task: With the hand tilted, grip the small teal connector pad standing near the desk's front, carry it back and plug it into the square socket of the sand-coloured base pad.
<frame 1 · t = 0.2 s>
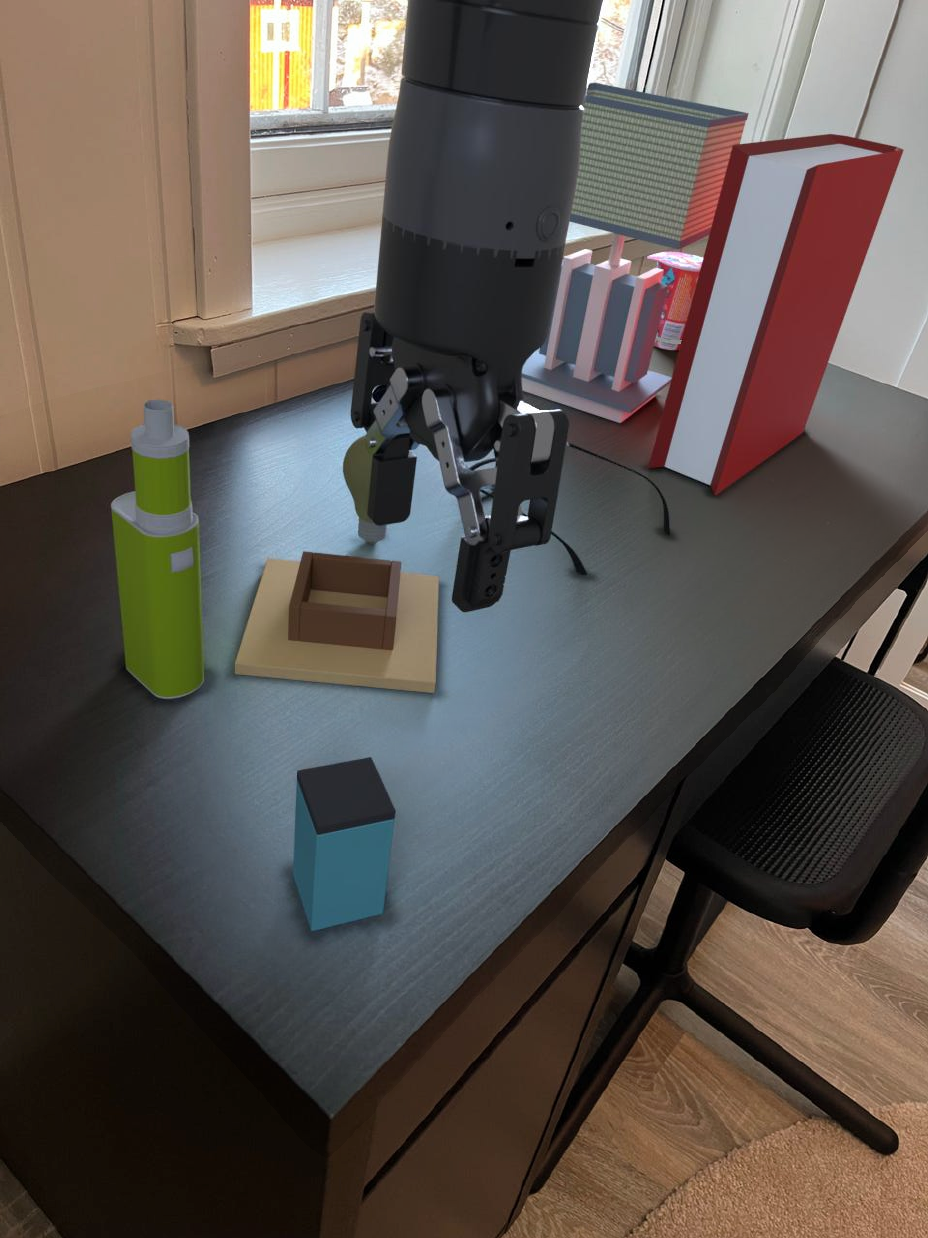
hand: (428, 561, 48), 18 cm above the table, tool pointing down, fingers open, 8 cm apart
pad plug: (337, 893, 53), on the table
book: (732, 449, 111), on the table
desk lamp: (586, 393, 120), on the table
base pad: (344, 626, 73), on the table
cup: (662, 345, 140), on the table
vape: (165, 675, 66), on the table
light bulb: (370, 543, 84), on the table
eyeglasses: (564, 521, 92), on the table
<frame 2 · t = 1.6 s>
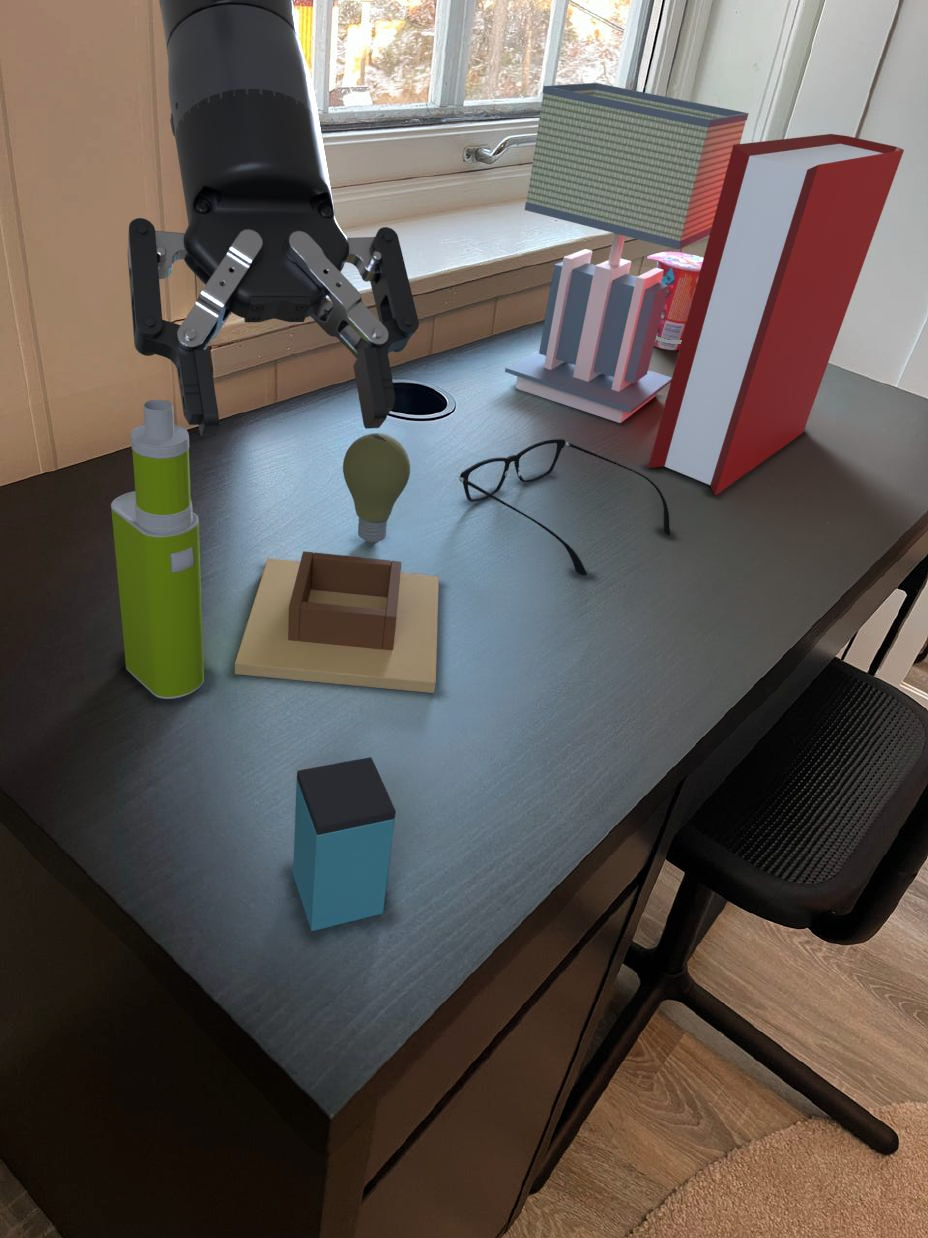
hand: (296, 427, 48), 22 cm above the table, tool tilted 45°, fingers open, 8 cm apart
nothing on the table moved.
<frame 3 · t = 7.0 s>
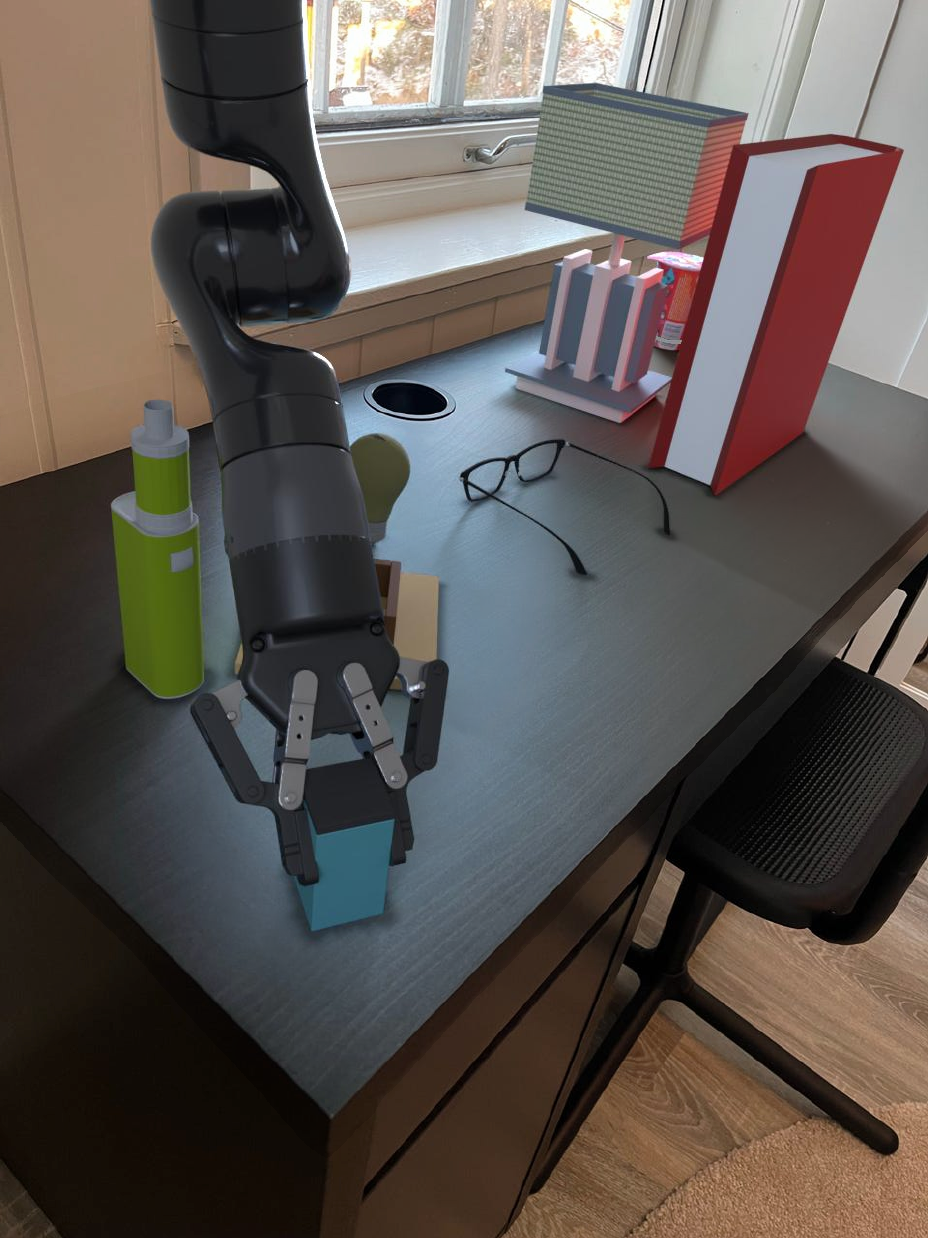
hand: (352, 871, 49), 4 cm above the table, tool tilted 45°, fingers closed on pad plug, 4 cm apart
pad plug: (337, 893, 53), on the table, touching gripper
everything else where it was.
when the fingers open (5 cm above the table, at t = 16.3 s): pad plug stays where it is, resting on base pad.
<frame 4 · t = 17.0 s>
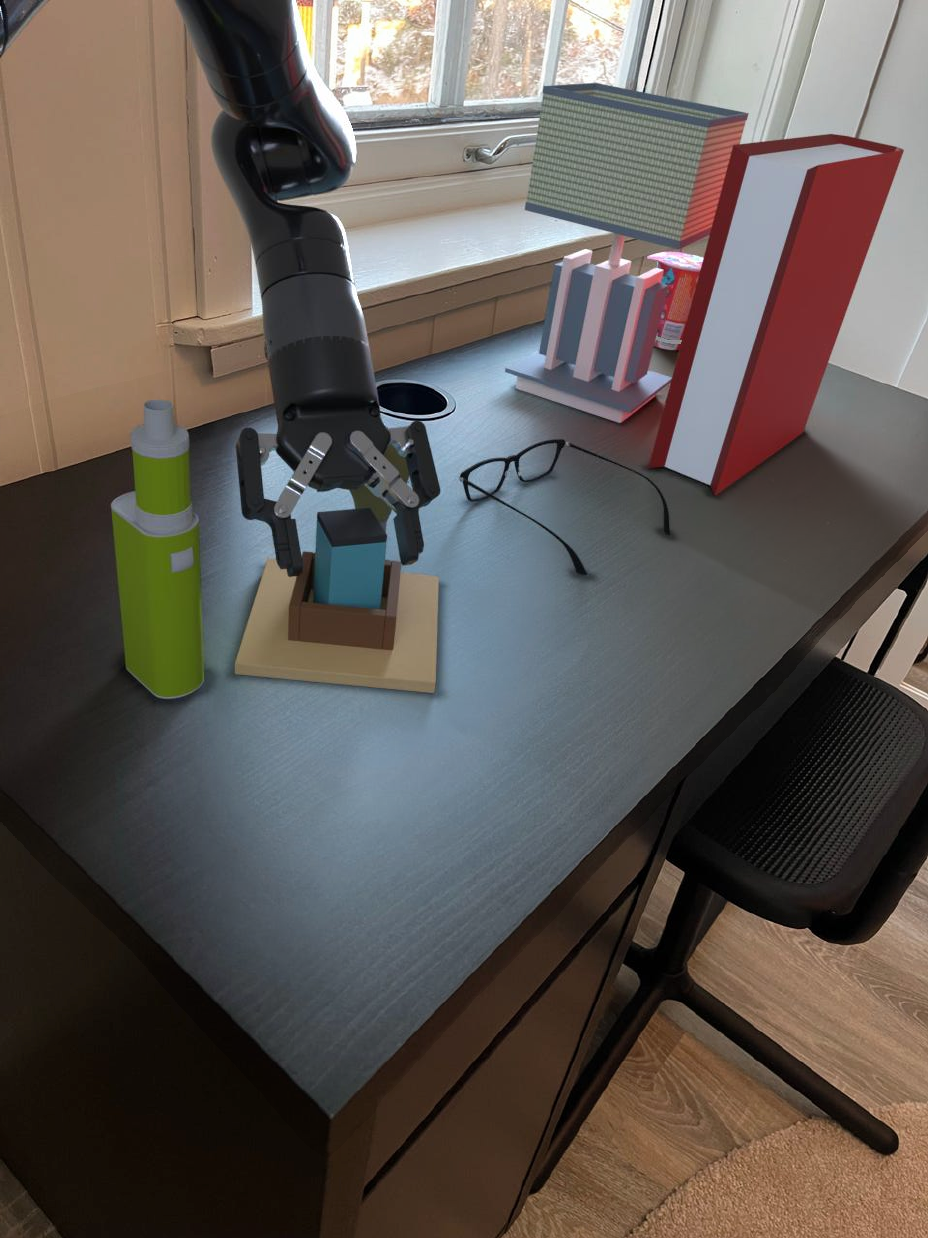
hand: (354, 568, 68), 6 cm above the table, tool tilted 45°, fingers open, 8 cm apart
pad plug: (345, 615, 72), point 1 cm above the table, touching base pad
everything else where it was.
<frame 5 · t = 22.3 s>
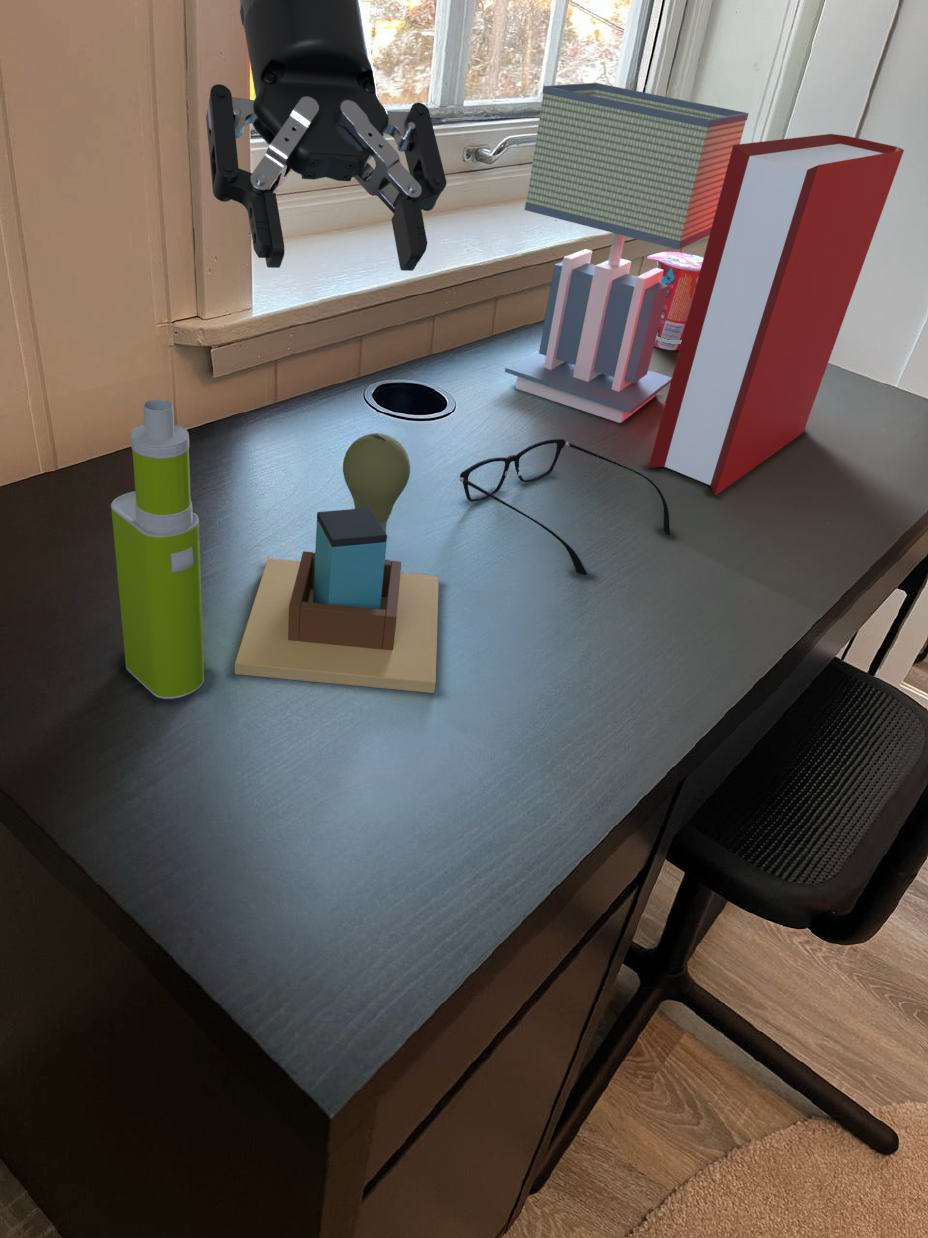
hand: (346, 262, 58), 27 cm above the table, tool tilted 45°, fingers open, 8 cm apart
nothing on the table moved.
at the end: pad plug 0.1 cm off-centre on the base pad, point 1.0 cm above the base pad's base; pad plug tilted 0°; the gripper is holding nothing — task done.
